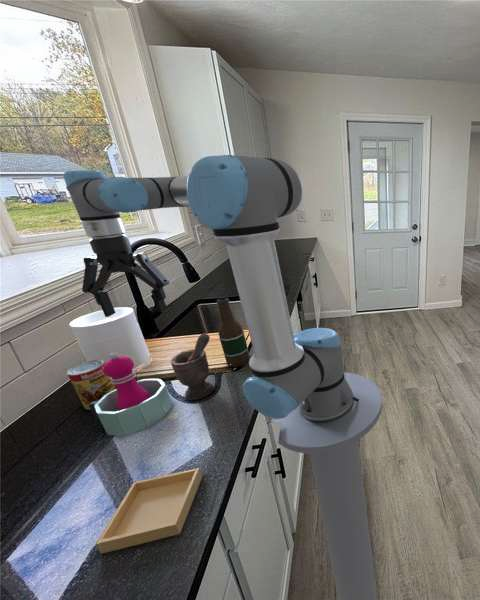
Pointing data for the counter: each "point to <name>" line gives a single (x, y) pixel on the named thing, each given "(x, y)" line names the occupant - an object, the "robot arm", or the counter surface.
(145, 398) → the pepper mill
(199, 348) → the mortar and pestle
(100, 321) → the canister
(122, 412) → the green faceted bowl
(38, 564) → the counter surface
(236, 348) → the beer bottle
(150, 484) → the tray
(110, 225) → the robot arm
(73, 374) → the canned food
